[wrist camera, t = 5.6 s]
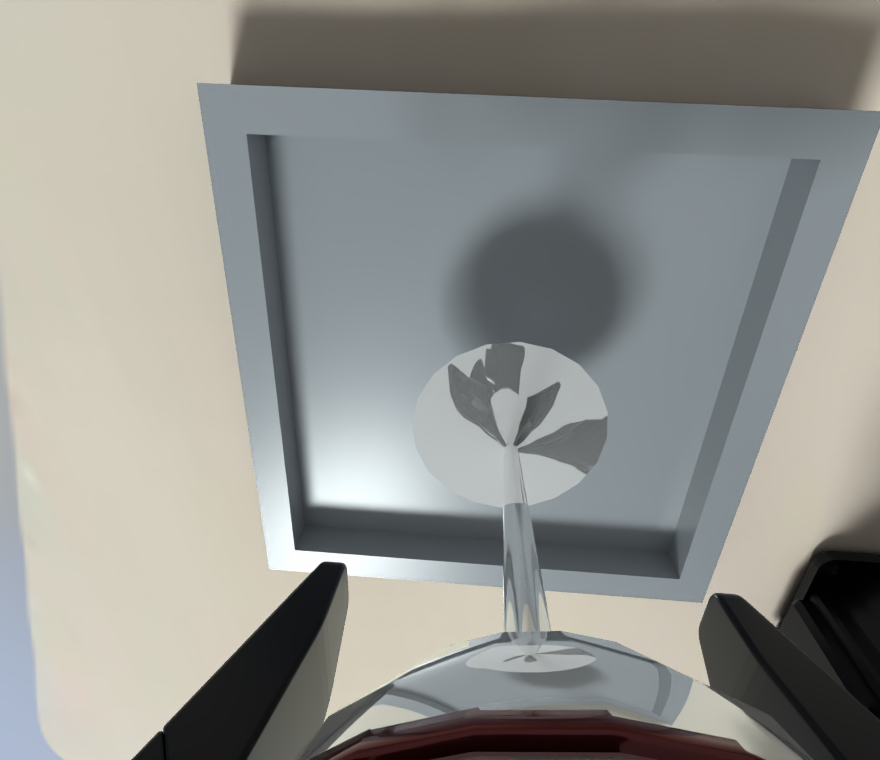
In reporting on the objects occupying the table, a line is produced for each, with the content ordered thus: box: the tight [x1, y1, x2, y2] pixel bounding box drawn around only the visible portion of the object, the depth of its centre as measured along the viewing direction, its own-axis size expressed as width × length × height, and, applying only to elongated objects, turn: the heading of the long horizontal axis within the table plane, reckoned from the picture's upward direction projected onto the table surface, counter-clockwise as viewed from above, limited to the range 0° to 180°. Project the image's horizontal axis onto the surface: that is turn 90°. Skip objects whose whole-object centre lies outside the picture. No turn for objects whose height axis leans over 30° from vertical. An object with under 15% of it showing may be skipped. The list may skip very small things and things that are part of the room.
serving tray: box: [197, 83, 880, 603], centre depth 16 cm, size 15×15×2 cm
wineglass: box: [294, 342, 814, 760], centre depth 8 cm, size 7×7×12 cm
